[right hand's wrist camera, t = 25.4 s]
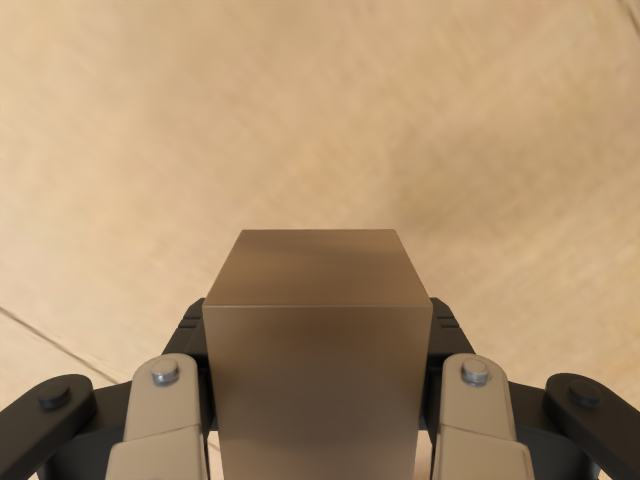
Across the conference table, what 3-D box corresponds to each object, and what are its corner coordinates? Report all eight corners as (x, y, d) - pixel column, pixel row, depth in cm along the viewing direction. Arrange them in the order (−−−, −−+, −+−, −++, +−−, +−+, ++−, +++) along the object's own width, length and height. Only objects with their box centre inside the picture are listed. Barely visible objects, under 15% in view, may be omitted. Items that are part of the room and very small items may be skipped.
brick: (252, 368, 14) (224, 488, 10) (241, 229, 12) (200, 305, 8) (385, 368, 14) (412, 488, 10) (395, 228, 12) (434, 304, 8)
